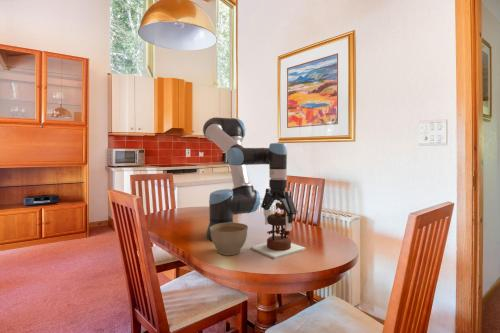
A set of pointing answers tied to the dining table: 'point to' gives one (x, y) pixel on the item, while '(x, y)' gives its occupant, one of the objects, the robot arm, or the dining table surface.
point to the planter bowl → (229, 237)
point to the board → (276, 254)
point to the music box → (278, 231)
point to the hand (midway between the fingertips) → (277, 227)
